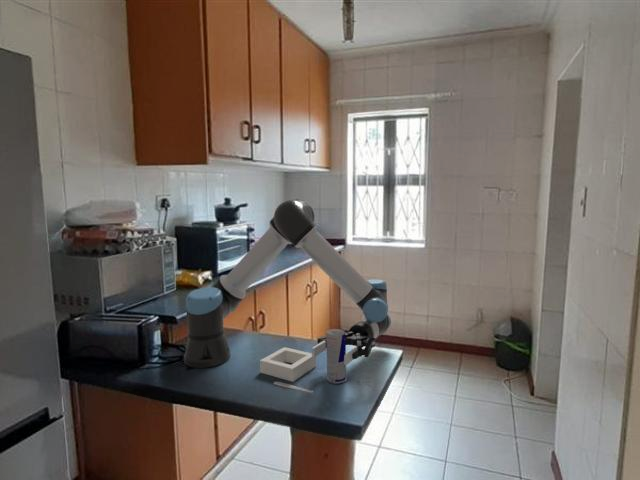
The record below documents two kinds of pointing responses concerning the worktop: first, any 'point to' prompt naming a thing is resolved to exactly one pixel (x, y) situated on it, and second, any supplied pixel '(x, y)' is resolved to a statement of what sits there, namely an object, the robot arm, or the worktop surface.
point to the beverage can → (336, 356)
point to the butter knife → (291, 387)
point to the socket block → (279, 369)
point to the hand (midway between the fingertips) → (328, 356)
